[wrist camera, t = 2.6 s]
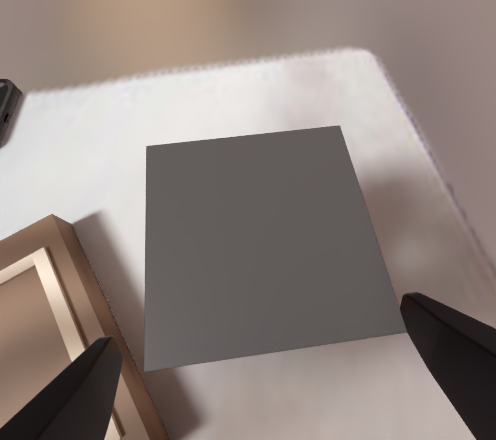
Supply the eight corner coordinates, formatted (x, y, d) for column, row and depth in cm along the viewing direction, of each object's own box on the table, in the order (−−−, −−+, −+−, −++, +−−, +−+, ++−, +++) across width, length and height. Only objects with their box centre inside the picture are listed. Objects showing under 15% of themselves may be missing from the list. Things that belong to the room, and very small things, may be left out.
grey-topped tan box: (308, 339, 16) (487, 404, 4) (207, 354, 16) (81, 472, 4) (287, 235, 19) (361, 85, 7) (200, 246, 18) (110, 110, 6)
